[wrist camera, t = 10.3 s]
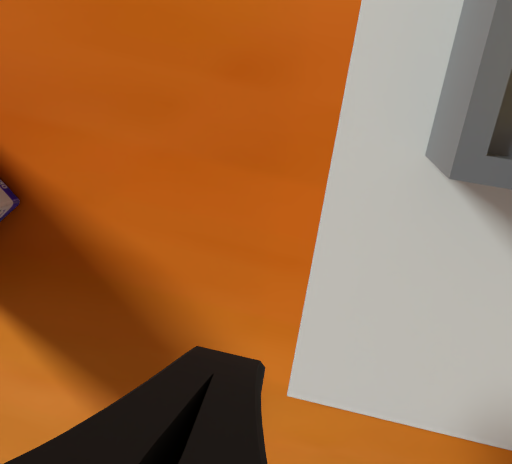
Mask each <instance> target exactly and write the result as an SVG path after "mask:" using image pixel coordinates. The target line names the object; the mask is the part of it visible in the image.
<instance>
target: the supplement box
mask: <svg viewBox="0 0 512 464" xmlns="http://www.w3.org/2000/svg"><path fill="white" fill-rule="evenodd" d="M19 203H20V201H19V199H18V198H17V196H16V195H14V193H13V192H12V191H11V190H10V189H9V188H8V187H7V186H6V185H5V183H4V182H2V181H1V179H0V222H1V221H2V220H3V219H4V218H5V217H6V216H7V215H8V214H9V213H10V212H11V211H13V210H14V209H15V208H16V207H17V206H18V205H19Z"/></svg>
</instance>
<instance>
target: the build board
mask: <svg viewBox="0 0 512 464" xmlns="http://www.w3.org/2000/svg"><path fill="white" fill-rule="evenodd" d="M463 2H464V0H362V2H361V7H360V13H359V18H358V23H357V28H356V34H355V39H354V44H353V50H352V55H351V60H350V65H349V71H348V76H347V81H346V87H345V92H344V97H343V102H342V108H341V113H340V118H339V124H338V129H337V134H336V139H335V145H334V150H333V155H332V160H331V166H330V171H329V176H328V182H327V187H326V192H325V197H324V203H323V208H322V213H321V219H320V224H319V229H318V234H317V240H316V245H315V250H314V256H313V261H312V266H311V271H310V277H309V282H308V287H307V292H306V298H305V303H304V308H303V314H302V319H301V324H300V329H299V335H298V340H297V345H296V351H295V356H294V361H293V366H292V372H291V377H290V382H289V388H288V393H287V396H290V397H294V398H298V399H302V400H306V401H310V402H314V403H319V404H323V405H327V406H331V407H335V408H339V409H343V410H347V411H351V412H355V413H360V414H364V415H368V416H372V417H376V418H380V419H384V420H388V421H392V422H397V423H401V424H405V425H409V426H413V427H417V428H421V429H425V430H429V431H433V432H438V433H442V434H446V435H450V436H454V437H458V438H462V439H466V440H470V441H474V442H479V443H483V444H487V445H491V446H495V447H499V448H503V449H507V450H511V451H512V190H511V189H505V188H499V187H493V186H487V185H481V184H475V183H469V182H464V181H458V180H452V179H448V178H447V177H446V176H445V175H444V174H443V173H442V172H441V171H440V170H439V169H438V168H437V167H436V166H435V165H434V164H433V163H432V162H431V161H430V160H429V159H428V158H427V157H426V156H425V154H426V150H427V146H428V142H429V138H430V134H431V130H432V126H433V122H434V118H435V114H436V110H437V106H438V102H439V98H440V94H441V90H442V86H443V82H444V78H445V74H446V70H447V66H448V62H449V58H450V54H451V50H452V46H453V42H454V38H455V34H456V30H457V26H458V22H459V18H460V14H461V10H462V6H463Z"/></svg>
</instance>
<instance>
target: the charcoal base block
mask: <svg viewBox="0 0 512 464" xmlns="http://www.w3.org/2000/svg"><path fill="white" fill-rule="evenodd" d="M425 156H426V157H427V158H428V159H429V160H430V161H431V162H432V163H433V164H434V165H435V166H436V167H437V168H438V169H439V170H440V171H441V172H442V173H443V174H444V175H445V176H446V177H447V178H448V179H452V180H458V181H464V182H469V183H475V184H481V185H487V186H493V187H499V188H505V189H511V190H512V0H464V2H463V6H462V10H461V14H460V18H459V22H458V26H457V30H456V34H455V38H454V42H453V46H452V50H451V54H450V58H449V62H448V66H447V70H446V74H445V78H444V82H443V86H442V90H441V94H440V98H439V102H438V106H437V110H436V114H435V118H434V122H433V126H432V130H431V134H430V138H429V142H428V146H427V150H426V154H425Z"/></svg>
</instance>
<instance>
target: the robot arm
mask: <svg viewBox="0 0 512 464" xmlns="http://www.w3.org/2000/svg"><path fill="white" fill-rule="evenodd" d="M264 372H265V367H264V365H263V364H262V363H261V361H259V360H254V359H250V358H246V357H242V356H237V355H233V354H229V353H225V352H220V351H216V350H212V349H208V348H203V347H199V346H196V347H195V348H193V349H191V350H190V351H188V352H187V353H185V354H184V355H183V356H181V357H180V358H178V359H177V360H176V361H174V362H173V363H171V364H170V365H169V366H167V367H166V368H165V369H163V370H162V371H160V372H159V373H157V374H156V375H155V376H153V377H152V378H150V379H149V380H148V381H146V382H145V383H143V384H142V385H140V386H139V387H137V388H136V389H134V390H133V391H131V392H130V393H128V394H127V395H125V396H124V397H122V398H121V399H119V400H118V401H116V402H114V403H113V404H111V405H110V406H108V407H107V408H105V409H103V410H102V411H100V412H98V413H97V414H95V415H93V416H92V417H90V418H88V419H87V420H85V421H83V422H81V423H80V424H78V425H76V426H75V427H73V428H71V429H70V430H68V431H66V432H65V433H63V434H61V435H59V436H57V437H56V438H54V439H52V440H50V441H48V442H46V443H45V444H43V445H41V446H39V447H37V448H35V449H33V450H31V451H29V452H27V453H25V454H23V455H21V456H19V457H16V458H14V459H12V460H10V461H8V462H6V463H4V464H267V458H266V452H265V444H264V436H263V427H262V416H261V390H262V384H263V378H264Z"/></svg>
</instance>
